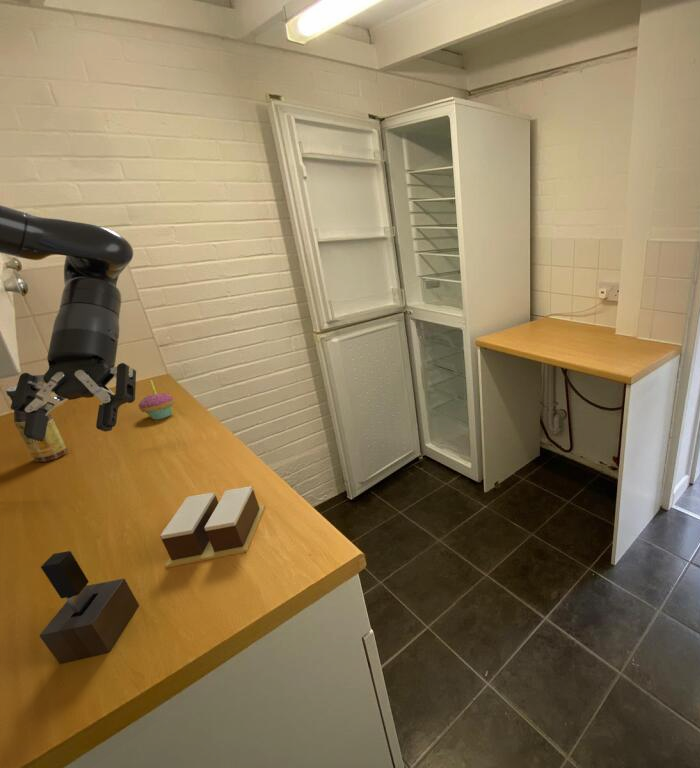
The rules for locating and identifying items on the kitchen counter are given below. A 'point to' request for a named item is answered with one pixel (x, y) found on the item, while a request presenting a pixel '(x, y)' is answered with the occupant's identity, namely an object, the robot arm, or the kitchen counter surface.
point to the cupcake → (157, 404)
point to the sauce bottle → (44, 448)
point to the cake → (212, 526)
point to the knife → (69, 581)
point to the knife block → (91, 623)
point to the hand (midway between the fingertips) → (70, 434)
